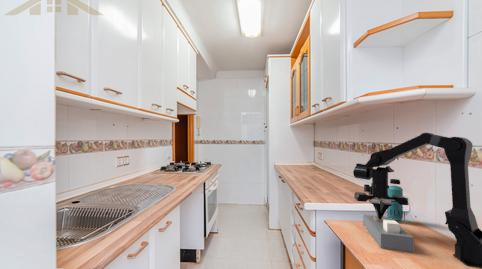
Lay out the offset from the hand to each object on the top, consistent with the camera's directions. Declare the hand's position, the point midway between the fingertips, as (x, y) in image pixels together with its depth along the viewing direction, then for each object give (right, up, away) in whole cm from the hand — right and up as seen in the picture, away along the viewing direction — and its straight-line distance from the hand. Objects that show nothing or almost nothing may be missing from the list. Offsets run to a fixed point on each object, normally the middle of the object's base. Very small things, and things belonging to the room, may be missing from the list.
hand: (379, 218), depth 94 cm
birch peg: (0, -5, 0) cm, 5 cm away
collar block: (-2, -5, -6) cm, 8 cm away
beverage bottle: (+16, -6, +13) cm, 21 cm away
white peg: (-3, -2, -12) cm, 12 cm away
